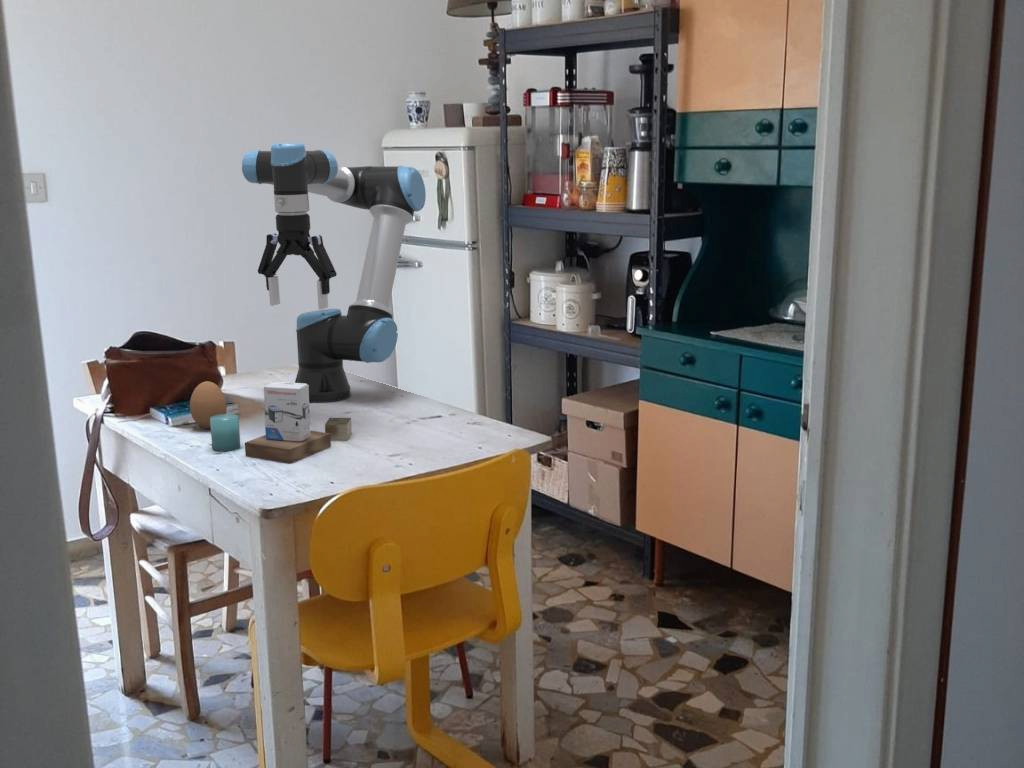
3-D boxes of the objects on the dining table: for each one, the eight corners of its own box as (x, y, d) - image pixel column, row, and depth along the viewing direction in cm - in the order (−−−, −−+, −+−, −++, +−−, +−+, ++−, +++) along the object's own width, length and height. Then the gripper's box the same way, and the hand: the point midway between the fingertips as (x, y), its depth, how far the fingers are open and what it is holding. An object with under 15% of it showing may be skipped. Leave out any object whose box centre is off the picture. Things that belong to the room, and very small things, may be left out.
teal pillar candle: (225, 442, 220) (223, 412, 218) (246, 446, 217) (244, 415, 216) (206, 449, 215) (204, 418, 213) (227, 453, 212) (225, 421, 210)
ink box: (264, 439, 211) (261, 386, 209) (275, 433, 216) (272, 381, 213) (302, 442, 209) (299, 388, 207) (311, 435, 214) (309, 383, 212)
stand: (287, 439, 222) (287, 427, 221) (331, 446, 217) (330, 433, 216) (245, 456, 210) (244, 442, 209) (290, 463, 205) (289, 449, 204)
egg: (202, 422, 237) (199, 377, 234) (234, 424, 235) (231, 378, 233) (184, 431, 229) (181, 384, 226) (217, 433, 227) (214, 386, 225)
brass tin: (330, 434, 227) (329, 417, 226) (351, 434, 227) (351, 417, 226) (325, 441, 221) (324, 424, 220) (347, 441, 221) (347, 424, 221)
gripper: (237, 213, 223) (245, 305, 228) (328, 216, 213) (334, 312, 218) (258, 210, 230) (265, 300, 235) (348, 213, 219) (353, 307, 225)
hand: (299, 306), depth 227 cm, fingers open, 13 cm apart
